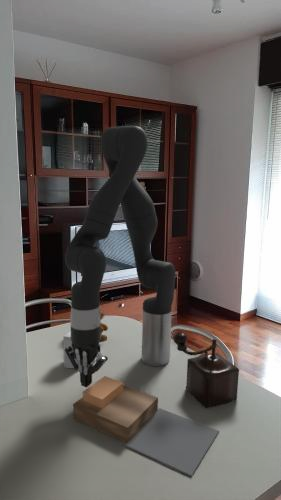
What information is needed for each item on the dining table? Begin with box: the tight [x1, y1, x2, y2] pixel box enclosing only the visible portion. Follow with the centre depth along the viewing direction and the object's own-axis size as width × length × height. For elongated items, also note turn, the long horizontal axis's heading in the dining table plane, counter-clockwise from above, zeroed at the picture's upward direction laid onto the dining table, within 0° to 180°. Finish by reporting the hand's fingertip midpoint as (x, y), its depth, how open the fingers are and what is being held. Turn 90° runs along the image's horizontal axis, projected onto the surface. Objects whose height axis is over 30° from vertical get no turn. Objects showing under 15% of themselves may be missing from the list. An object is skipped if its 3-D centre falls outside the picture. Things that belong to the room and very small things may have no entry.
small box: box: [63, 329, 77, 370], centre depth 118 cm, size 8×6×10 cm
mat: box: [124, 407, 220, 478], centre depth 85 cm, size 16×16×1 cm
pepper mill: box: [172, 332, 240, 409], centre depth 101 cm, size 16×11×18 cm
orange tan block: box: [82, 375, 124, 408], centre depth 94 cm, size 9×6×2 cm, turn 149°
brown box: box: [72, 384, 159, 444], centre depth 93 cm, size 14×16×4 cm
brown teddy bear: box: [99, 309, 109, 342], centre depth 134 cm, size 10×14×13 cm
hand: (86, 385), depth 97 cm, fingers closed
